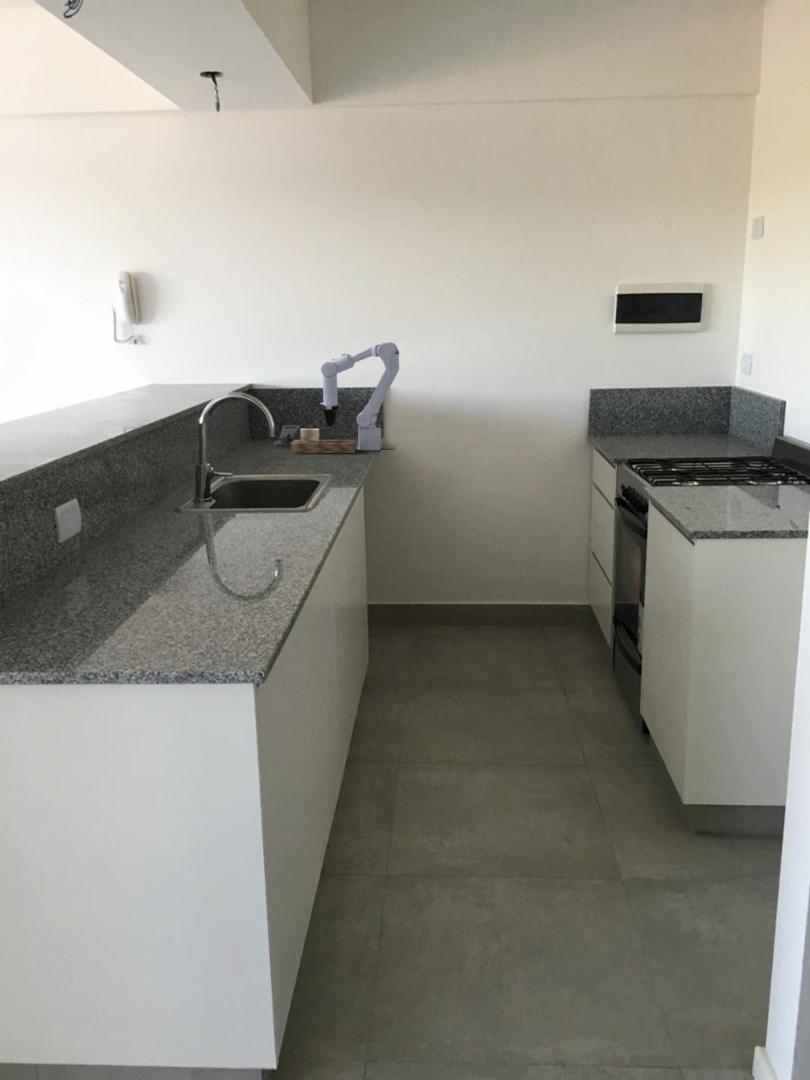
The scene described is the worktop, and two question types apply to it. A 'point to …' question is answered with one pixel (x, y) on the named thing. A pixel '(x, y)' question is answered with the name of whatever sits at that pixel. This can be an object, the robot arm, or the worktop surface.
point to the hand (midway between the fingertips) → (330, 425)
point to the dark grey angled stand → (286, 436)
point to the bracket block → (309, 435)
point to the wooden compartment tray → (324, 446)
